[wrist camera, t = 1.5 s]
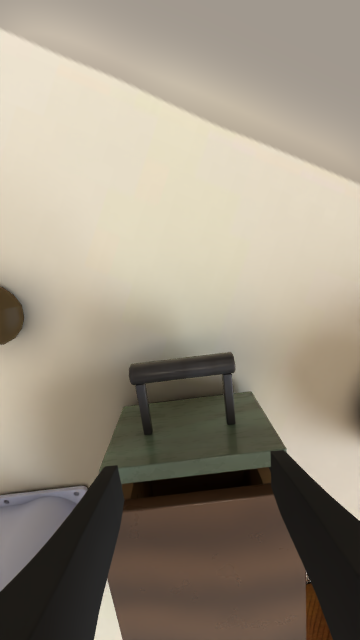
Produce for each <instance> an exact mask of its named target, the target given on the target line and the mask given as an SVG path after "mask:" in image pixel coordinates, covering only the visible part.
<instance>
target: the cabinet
mask: <svg viewBox="0 0 360 640" xmlns="http://www.w3.org/2000/svg"><path fill="white" fill-rule="evenodd" d="M269 469H270V472H271V467H269ZM121 485H122V484H121ZM107 579H108V583H109V587H110V591H111V595H112V599H113V603H114V607H115V611H116V615H117V619H118V623H119V627H120V631H121V635H122V639H123V640H306V570H305V568H304V565H303V563H302V561H301V559H300V557H299V554H298V552H297V550H296V548H295V545H294V543H293V541H292V539H291V537H290V534H289V532H288V530H287V528H286V525H285V523H284V521H283V519H282V516H281V514H280V511H279V508H278V506H277V503H276V500H275V497H274V494H273V491H272V488H271V483H268V484H260V485H251V486H242V487H234V488H225V489H216V490H208V491H199V492H190V493H182V494H173V495H164V496H156V497H147V498H138V499H130V500H124V506H123V513H122V519H121V525H120V530H119V534H118V538H117V542H116V546H115V550H114V554H113V558H112V562H111V565H110V569H109V573H108V577H107Z"/></svg>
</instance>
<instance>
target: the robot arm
mask: <svg viewBox="0 0 360 640" xmlns="http://www.w3.org/2000/svg"><path fill="white" fill-rule="evenodd" d="M270 452H271V488H272V491H273V494H274V497H275V500H276V503H277V506H278V508H279V511H280V514H281V516H282V519H283V521H284V523H285V525H286V528H287V530H288V532H289V534H290V537H291V539H292V541H293V543H294V545H295V548H296V550H297V552H298V554H299V557H300V559H301V561H302V563H303V565H304V568H305V570H306V572H307V574H308V577H309V579H310V581H311V584H312V586H313V588H314V591H315V593H316V596H317V598H318V601H319V604H320V606H321V609H322V612H323V614H324V617H325V620H326V622H327V625H328V628H329V630H330V633H331V636H332V639H333V640H360V521H359V520H358V519H357V518H355V517H354V516H353V515H352V514H351V513H349V512H348V511H347V510H346V509H345V508H344V507H343V506H341V505H340V504H339V503H338V502H337V501H336V500H335V499H334V498H332V497H331V496H330V495H329V494H328V493H327V492H326V491H325V490H324V489H323V488H322V487H321V486H320V485H318V484H317V483H316V482H315V481H314V480H313V479H312V478H311V477H310V476H309V475H308V474H307V473H306V472H305V471H304V470H303V469H302V468H301V467H300V466H299V465H298V464H297V463H296V462H295V461H294V460H293V459H292V458H291V457H290V456H289V455H288V454H287V453H286V452H285V451H284V450H279V451H270ZM123 506H124V495H123V490H122V485H121V480H120V475H119V470H118V465H114V466H105V467H104V468H103V469H102V471H101V472H100V473H99V475H98V476H97V478H96V479H95V480H94V482H93V483H92V485H91V486H90V487H89V489H87V487H86V486H76V487H67V488H59V489H50V490H42V491H33V492H24V493H16V494H7V495H0V640H94V636H95V631H96V625H97V620H98V615H99V610H100V605H101V601H102V597H103V593H104V589H105V585H106V581H107V577H108V573H109V569H110V565H111V562H112V558H113V554H114V550H115V546H116V542H117V538H118V534H119V530H120V525H121V519H122V513H123Z"/></svg>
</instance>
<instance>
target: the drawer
mask: <svg viewBox="0 0 360 640" xmlns="http://www.w3.org/2000/svg"><path fill="white" fill-rule="evenodd" d="M234 372H235V361H234V357H233V354H232V353H231V352H227V353H219V354H211V355H202V356H194V357H186V358H178V359H169V360H161V361H153V362H145V363H136V364H131V365H130V368H129V378H130V382H131V384H132V385H136V392H137V398H138V403H139V405H134V406H125V407H123V410H122V412H121V415H120V418H119V420H118V423H117V425H116V428H115V431H114V433H113V436H112V439H111V441H110V444H109V446H108V449H107V452H106V454H105V457H104V459H103V462H102V465H101V467H100V470H99V472H101V471H102V469H103V468H104V467H105V466H114V465H118V470H119V475H120V480H121V484H122V490H123V495H124V500H130V499H138V498H147V497H156V496H164V495H173V494H182V493H190V492H199V491H208V490H216V489H225V488H234V487H242V486H251V485H260V484H268V483H271V472H270V469H269V467H271V452H270V451H279V450H284V451H285V452H286V453H287V449H286V447H285V446H284V444H283V442H282V441H281V439H280V437H279V436H278V434H277V433H276V431H275V429H274V428H273V426H272V424H271V423H270V421H269V420H268V418H267V416H266V415H265V413H264V411H263V410H262V408H261V407H260V405H259V403H258V402H257V400H256V398H255V397H254V395H253V394H252V392H243V393H234V394H233V384H232V374H231V373H234ZM220 374H222V382H223V393H224V395H217V396H209V397H201V398H192V399H184V400H175V401H167V402H159V403H150V404H149V402H148V396H147V390H146V384H145V383H153V382H161V381H170V380H178V379H186V378H195V377H203V376H211V375H220Z"/></svg>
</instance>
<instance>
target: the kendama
mask: <svg viewBox="0 0 360 640" xmlns="http://www.w3.org/2000/svg"><path fill="white" fill-rule="evenodd" d="M23 320H24V315H23V309H22V305H21V304H20V303H19V301H18V300H17V299H16V297H15V296H14V295H13V294H12V293H10V292H9V291H7V290H6V289H4V288H3V287H1V286H0V345H2V344H6V343H7V342H9V341H11V340H12V339H14V338H16V336H17V335H18V333H19V332H20V330H21V329H22V325H23Z"/></svg>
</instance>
